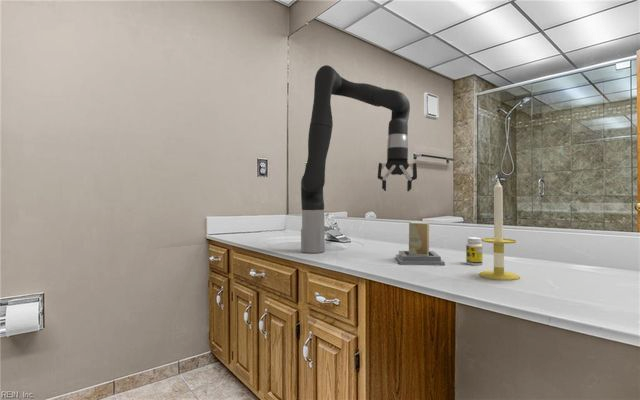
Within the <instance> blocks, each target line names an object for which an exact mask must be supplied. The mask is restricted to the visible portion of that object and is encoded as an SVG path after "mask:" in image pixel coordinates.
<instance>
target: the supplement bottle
mask: <svg viewBox="0 0 640 400" xmlns="http://www.w3.org/2000/svg"><path fill="white" fill-rule="evenodd" d="M481 239H482V238H480V237H474V236H472V237H467V241H466V242H467V243H466V246H465V248H466V249H465V250H466V252H465V254H466V257H465V259H466V264H467V265H471V266H481V265H483V245H482V240H481Z"/></svg>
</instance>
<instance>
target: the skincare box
mask: <svg viewBox="0 0 640 400" xmlns="http://www.w3.org/2000/svg"><path fill="white" fill-rule="evenodd" d="M408 227H409V228H408V251H409V256H429V251H430V222H428V221H427V222H424V221H423V222H422V221H410V222H409V223H408Z"/></svg>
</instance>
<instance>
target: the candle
mask: <svg viewBox="0 0 640 400" xmlns="http://www.w3.org/2000/svg"><path fill="white" fill-rule="evenodd" d="M503 192H504V191H503V185H501V183H500V179H497V180H496V182H495V185H494V186H493V233H494V234H493V235H494V237H488V238H487V237H484V238H481V242H484V243H489V244H493V270H482V271H479V273H478V275H479V276H480V277H482V278H485V279H486V278H487V279H491V280H498V281H517V280H520V279H521V278H520V277H521V276H520V275H519V274H517V273H513V272H508V271H505V246H504V244H505V245H507V244H516V243H517V240H516V239H512V238H504V220H503V219H504V212H503V211H504V209H503V207H504V206H503V205H504V203H503V199H504V198H503V197H504V196H503Z"/></svg>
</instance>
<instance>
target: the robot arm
mask: <svg viewBox="0 0 640 400" xmlns="http://www.w3.org/2000/svg"><path fill="white" fill-rule="evenodd" d="M315 74H316V75H315V78H314V90H313V91H314V95H313V103H312V111H311V118H310V123H309V129H308V130H309V131H308V138H307V150H308V151H307V152H308V153H307V160H306V165H305V168H304V169H305V170H304V173H303V176H302V177H301V179H300V193H301V194H300V195H301V198H300V199H301V229H300V247H301V248H300V252H301V253H306V254H320V253H324V252H325V250H326V247H325V245H326V244H325V243H326V242H325V233H326V232H325V203H324V202H325V201H324V187H325V183H326V163H327V161H326V160H327V156H328V152H329V148H330V144H331V139H332V132H333V125H334V124H333V113H332V105H331V99H332V95H333V96H339V97H346V98H349V99H350V98H351V99H354V100H356V101H359V102H363V103H364V104H367V105H372V106H374V107H379V108H380V107H383V108H385V109H387V110H390V111H391V118H390V120H389V122H388V128H387V129H388V130H387V131H388V132H387V133H388V134H387V142H386V143H387V145H386V150H387V151H386V163H382V162H379V163H378V166H377V167H378V168H377V169H378V170H377V179H378V180H380V181H381V189H382V190H383V192H386V191H387V181H386V180H387V179H388V177H390V175H393V176H396V175H398V176H401V175H403V176H404V177H405V178H406V179H407V182H406V185H407V186H406V192H410V191H411V190H412V181H416V180H417V179H418V173H417V172H418V170H417V169H418V168H417V166H418V165H417V163H416V162H414V163H409V159H408V156H409V137H408V132H409V131H408V127H409V126H408V125H409V124H408V122H409V117H410V110H411V106H410V100H409V99H408V98H407V96H406V95H405V94H404V93H403V92H402V91H398V90H395V89H388V88H382V87H381V86H380V87H379V86H377V85H374V84H370V83H365V82H362V83H360V82H352V81H349V80H348V79H346V78H344V77H342V76H341V75H340V74H339V72H338V71H336V70H335V68H334V67H332V66H330V65H327V64H326V65H323V66H321V67H320V68H319V69H318V70H317V71H316V73H315ZM384 168H386V169H387V172H386V173H385V174H384V175H382V170H383V169H384ZM408 168H410V170H412V176H411V175H410V174H409V173H408V171H407V169H408Z"/></svg>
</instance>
